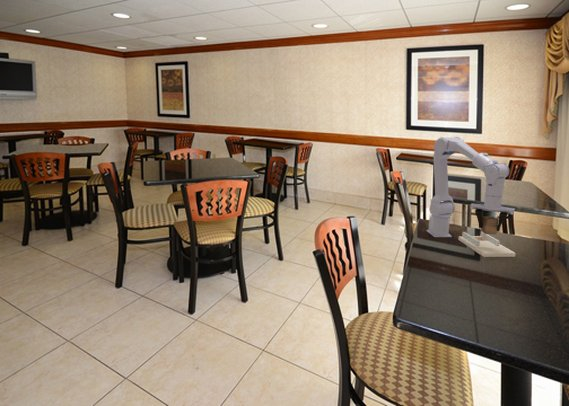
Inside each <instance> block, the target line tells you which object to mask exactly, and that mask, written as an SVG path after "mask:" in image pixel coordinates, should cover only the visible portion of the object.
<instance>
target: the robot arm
mask: <svg viewBox="0 0 569 406" xmlns="http://www.w3.org/2000/svg"><path fill="white" fill-rule="evenodd" d="M433 147H434V152H433V173H434V174H433V175H434V177H433V178H434V196H433V197H432V198H431V199H430V205H429V212H430V214H431V215H430V217H429V219H428V229H426V232H427V233H429V234H430V235H431V236H432V237H434V238H452V237H453V236H452V235H451V234H450V233H449V230H450V219H451V216H452V214H454V213H455V210H456V206H455V204H454V198H453V197H452V196H451V195H450V193H449V179H448V178H449V175H448V174H449V173H448V171H449V170H448V159H449V158H450V157H451V156H452V155H454V154H456V153H457V152H458V153H460V154H461V155H463V156H465V157H467V158H468V159H469V160H471V162H472V163H471V164H472V165H473V166H474V167H475V168H477V169H479V170H480V171H481V172H483V174H484V176H485V178H486V179H485V182H486V185H485V195H484V201H483V203H470V210H474V214H475V216H476V219H477V223H478V229H481V227H482V218H483V217H484V212H485V211H488V212H495V213H499V214H498V219H499V220H498V227H497V232H500V230H501V226H502V224H503V222H504V221H505V219H506V218H507V217H508V215H515V214H514V213H515V208H513V207H506V206H502V202H503V201H502V200H503V195H504V187H505V179H506V178H508V176H509V174H510V168H509V166H508V165H507V164H506V163H503V162H501V163H500V162H499V160H497V159H493V158H492V157H490V156H489V153H487V152H477V151H476V150H475V149H474V148H473V147H471V146H470V145H469V144H468V143H466V142H465V140H464V139H463V138H461V137H459V136H454V137H453V136H451V137H448V136H447V137H441V136H440V137H439V138H438V139H436V141H435V142H434V145H433Z"/></svg>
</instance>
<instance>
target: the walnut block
mask: <svg viewBox="0 0 569 406" xmlns="http://www.w3.org/2000/svg"><path fill="white" fill-rule="evenodd" d="M498 222H499V218H497V217H495V216H483V218H482V227H481V228H480V232H483V233H485V234H488V235H497V232H498V231H497V227H498Z"/></svg>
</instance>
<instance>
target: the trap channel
mask: <svg viewBox="0 0 569 406" xmlns="http://www.w3.org/2000/svg"><path fill="white" fill-rule="evenodd" d="M457 239H458V241H460V242H461V243H463V244H464V245H466V246H467V247H468V248H470V249H472V250H473V251H474V252H475V253H477V254H479V255H480V256H482V257H483V258H516V252H514V251H513V250H511V249H509V248H507V247H506V246H504V245H502V244H500V240H499V239H497V238H495V237H493V236H491V234H485V233H483V232H482V231H480V235H476V236H475V235H473V236H472V235H471V234H469V233H467V232H466V231H462V235H461V236H458V238H457Z"/></svg>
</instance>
